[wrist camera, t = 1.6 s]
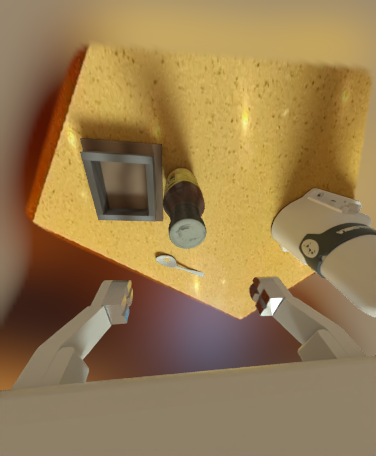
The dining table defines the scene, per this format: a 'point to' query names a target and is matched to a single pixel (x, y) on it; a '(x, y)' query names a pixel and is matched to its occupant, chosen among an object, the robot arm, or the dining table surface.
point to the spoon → (175, 264)
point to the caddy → (124, 179)
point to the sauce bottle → (184, 209)
